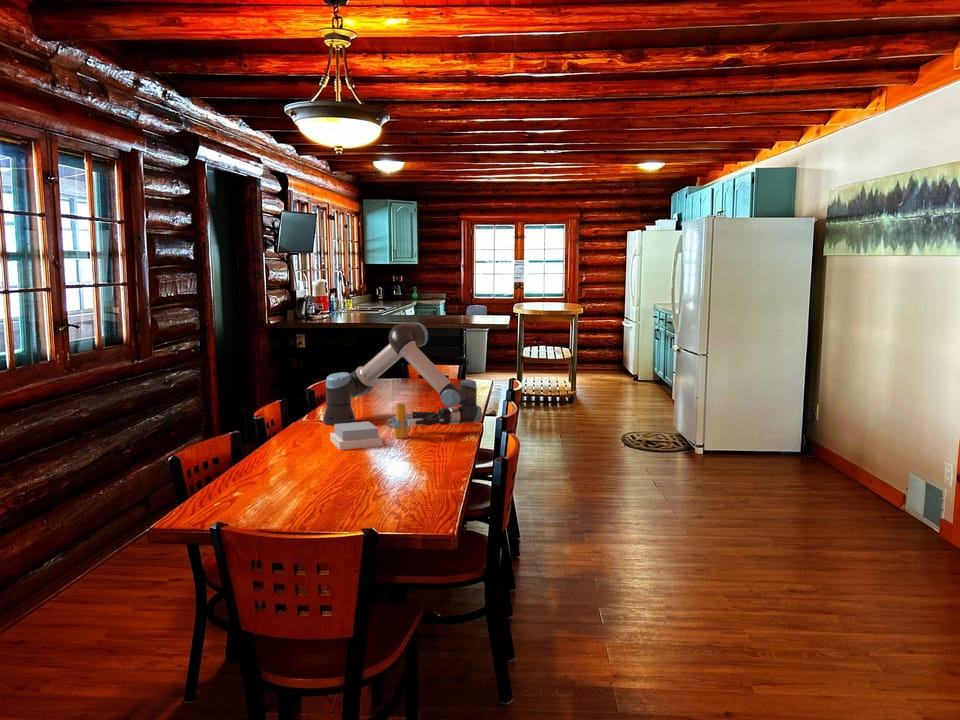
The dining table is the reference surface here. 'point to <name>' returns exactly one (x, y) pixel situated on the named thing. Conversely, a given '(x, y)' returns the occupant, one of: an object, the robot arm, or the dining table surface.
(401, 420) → the yellow post with rings
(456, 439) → the dining table surface
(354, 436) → the tower top
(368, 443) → the tower base
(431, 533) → the dining table surface
